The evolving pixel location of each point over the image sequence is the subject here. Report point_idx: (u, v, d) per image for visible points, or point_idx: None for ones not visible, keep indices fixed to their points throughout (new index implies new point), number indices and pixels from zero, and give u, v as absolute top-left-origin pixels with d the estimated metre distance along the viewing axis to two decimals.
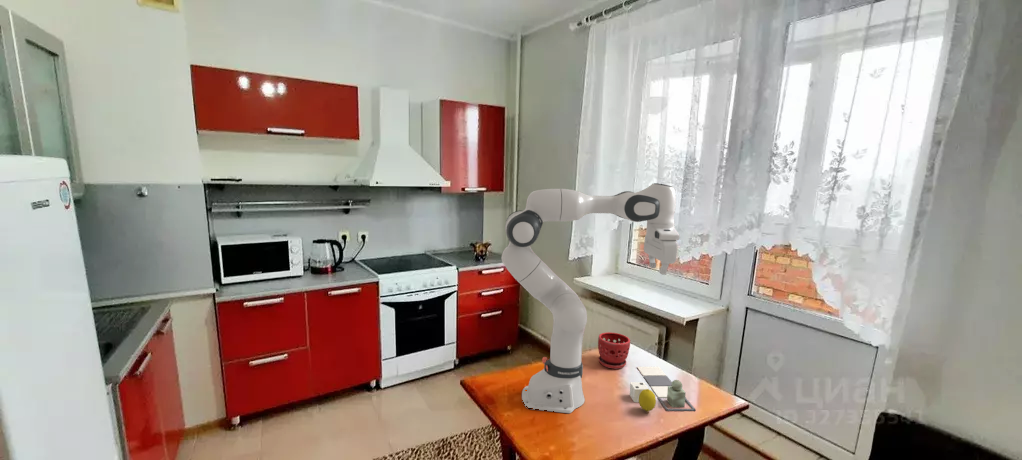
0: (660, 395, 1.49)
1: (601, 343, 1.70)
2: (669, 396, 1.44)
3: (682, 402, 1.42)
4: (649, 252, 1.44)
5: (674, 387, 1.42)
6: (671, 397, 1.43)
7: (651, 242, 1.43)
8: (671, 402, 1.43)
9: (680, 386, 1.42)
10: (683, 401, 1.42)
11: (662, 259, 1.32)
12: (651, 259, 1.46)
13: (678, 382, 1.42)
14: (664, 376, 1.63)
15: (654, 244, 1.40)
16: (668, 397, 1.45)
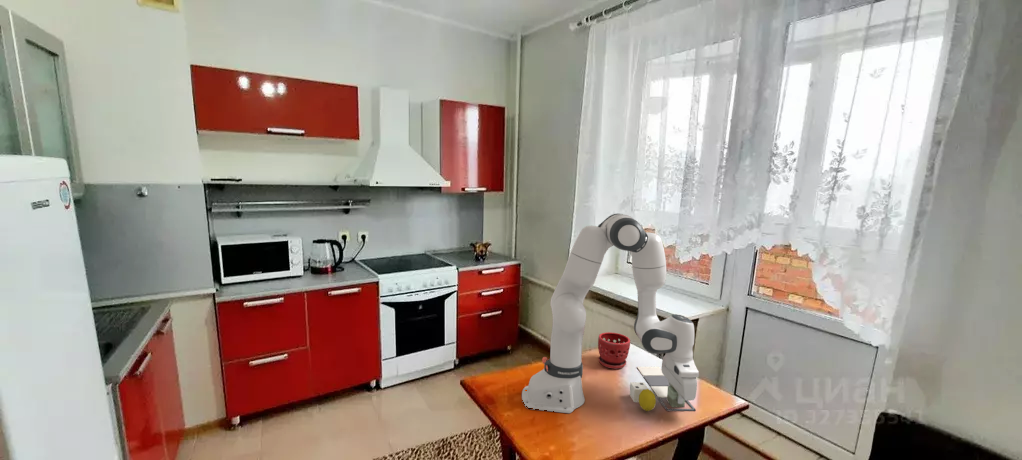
0: (660, 395, 1.49)
1: (601, 343, 1.70)
2: (669, 396, 1.44)
3: None
4: (667, 377, 1.47)
5: None
6: (671, 397, 1.43)
7: (669, 368, 1.46)
8: (671, 402, 1.43)
9: None
10: (683, 401, 1.42)
11: (681, 395, 1.35)
12: (671, 385, 1.47)
13: None
14: (664, 376, 1.63)
15: (673, 373, 1.43)
16: (668, 397, 1.45)
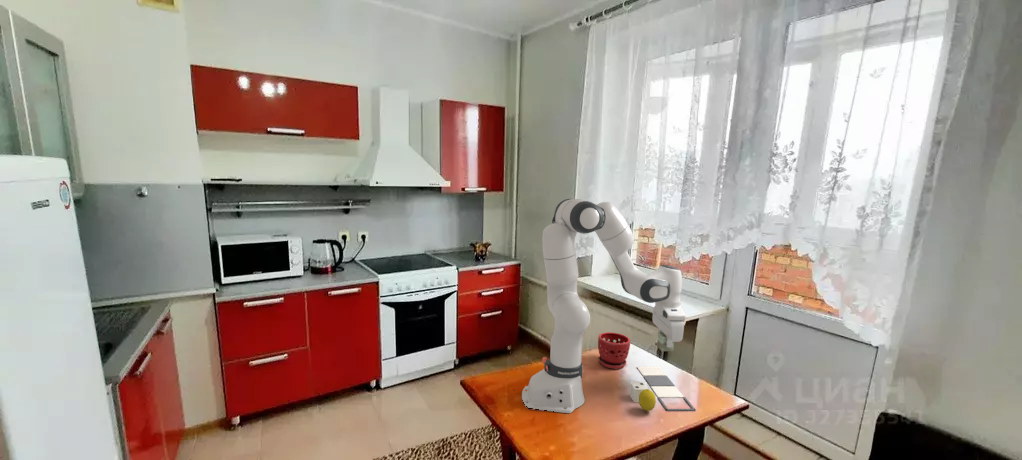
0: (660, 395, 1.49)
1: (601, 343, 1.70)
2: (659, 341, 1.54)
3: None
4: (657, 325, 1.57)
5: None
6: (661, 342, 1.53)
7: (659, 316, 1.56)
8: (661, 346, 1.53)
9: None
10: (672, 345, 1.52)
11: (670, 337, 1.45)
12: (661, 332, 1.57)
13: None
14: (664, 376, 1.63)
15: (662, 319, 1.53)
16: (658, 343, 1.55)
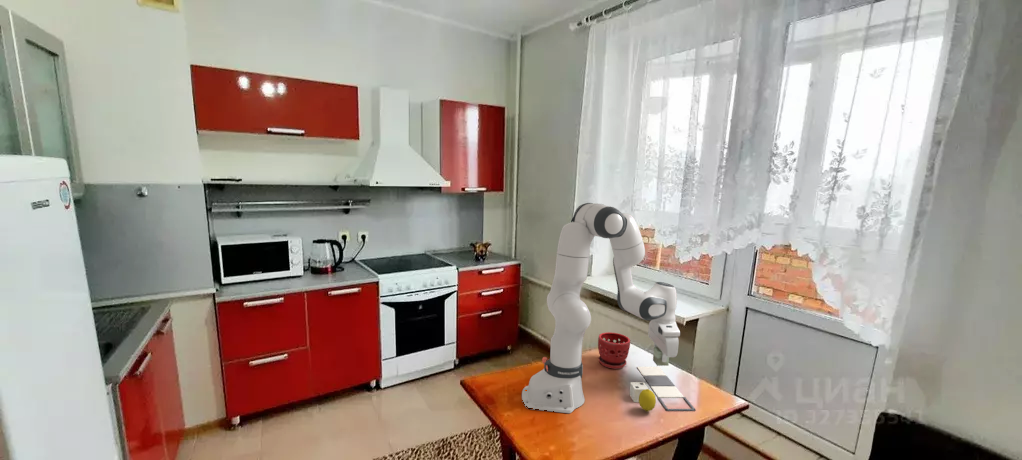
0: (660, 395, 1.49)
1: (601, 343, 1.70)
2: (655, 356, 1.59)
3: None
4: (653, 340, 1.61)
5: None
6: (656, 356, 1.57)
7: (655, 331, 1.60)
8: (656, 361, 1.57)
9: None
10: (667, 360, 1.56)
11: (665, 353, 1.50)
12: None
13: None
14: (664, 376, 1.63)
15: (657, 335, 1.57)
16: (654, 357, 1.59)
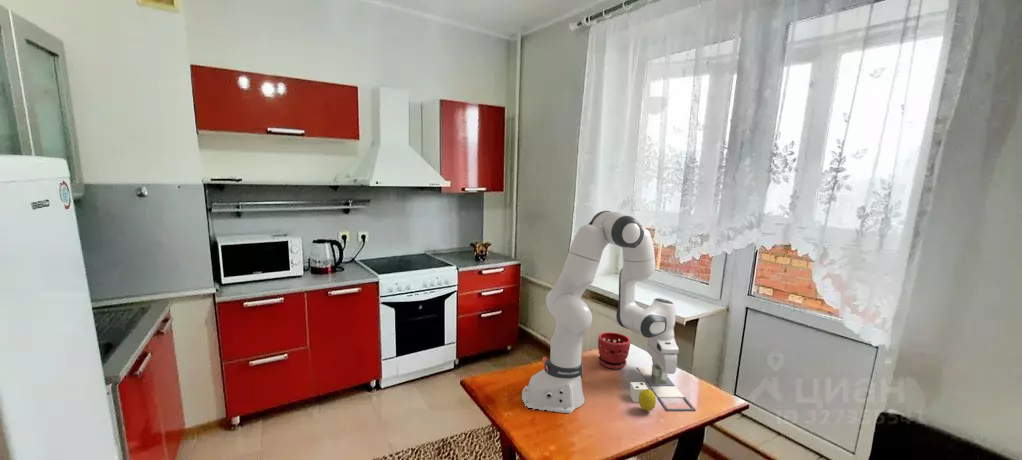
0: (660, 395, 1.49)
1: (601, 343, 1.70)
2: (653, 374, 1.60)
3: None
4: (652, 355, 1.62)
5: (657, 365, 1.58)
6: (655, 374, 1.58)
7: (653, 347, 1.61)
8: (655, 379, 1.58)
9: None
10: None
11: (663, 369, 1.50)
12: (654, 361, 1.63)
13: None
14: None
15: (656, 351, 1.58)
16: (652, 375, 1.60)
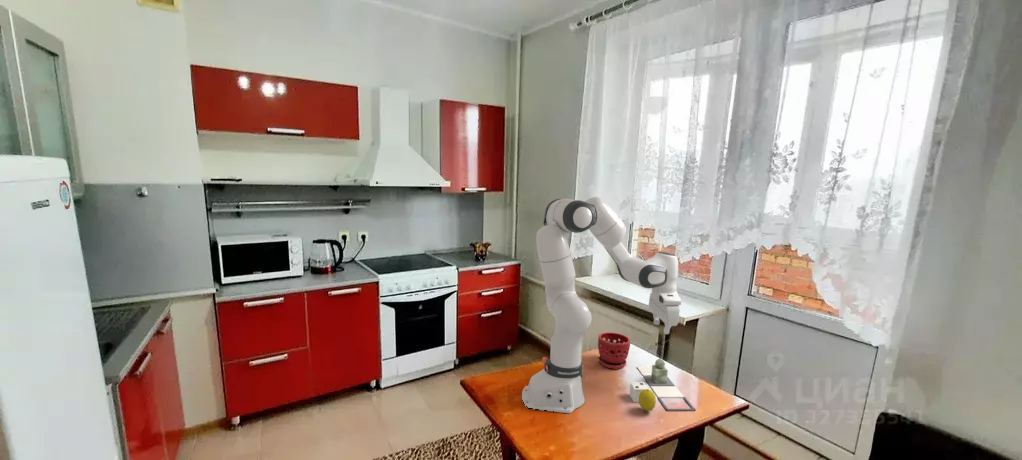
0: (660, 395, 1.49)
1: (601, 343, 1.70)
2: (653, 374, 1.60)
3: (665, 379, 1.57)
4: (654, 311, 1.60)
5: (657, 365, 1.58)
6: (655, 374, 1.58)
7: (655, 302, 1.59)
8: (655, 379, 1.58)
9: (663, 364, 1.57)
10: (665, 378, 1.57)
11: (665, 321, 1.48)
12: (655, 316, 1.62)
13: (661, 361, 1.58)
14: None
15: (658, 305, 1.56)
16: (652, 375, 1.60)
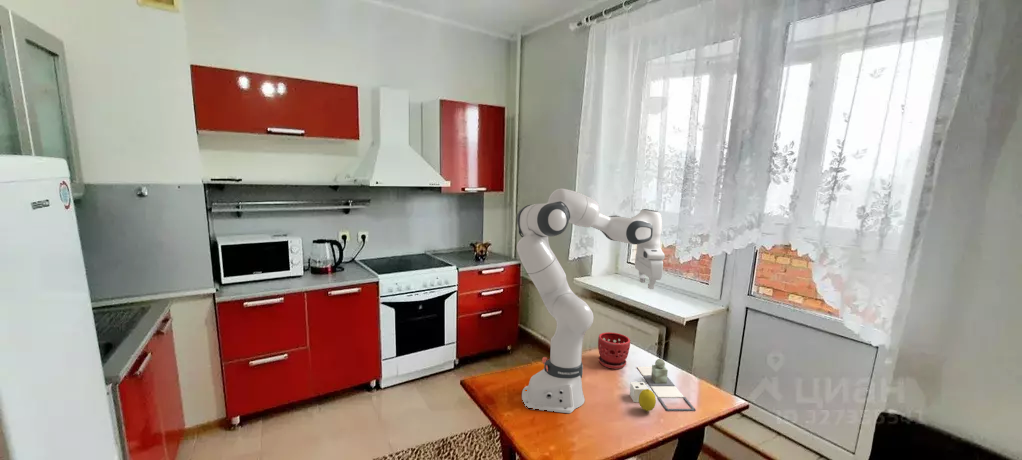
0: (660, 395, 1.49)
1: (601, 343, 1.70)
2: (653, 374, 1.60)
3: (665, 379, 1.57)
4: (639, 269, 1.63)
5: (657, 365, 1.58)
6: (655, 374, 1.58)
7: (641, 260, 1.62)
8: (655, 379, 1.58)
9: (663, 364, 1.57)
10: (665, 378, 1.57)
11: (650, 276, 1.52)
12: (641, 275, 1.65)
13: (661, 361, 1.58)
14: None
15: (643, 262, 1.59)
16: (652, 375, 1.60)
